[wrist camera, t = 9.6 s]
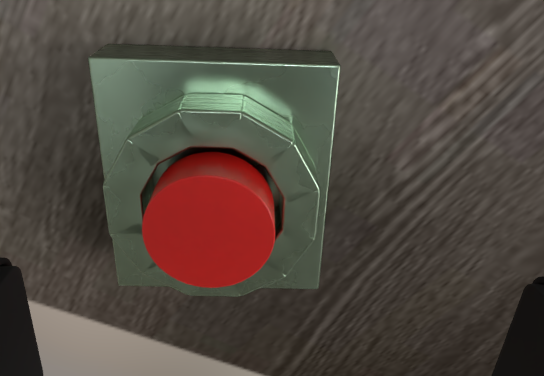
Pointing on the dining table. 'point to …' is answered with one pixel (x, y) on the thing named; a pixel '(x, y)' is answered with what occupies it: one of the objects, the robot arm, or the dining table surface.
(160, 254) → the button
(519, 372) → the robot arm
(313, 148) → the switch block
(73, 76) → the dining table surface
